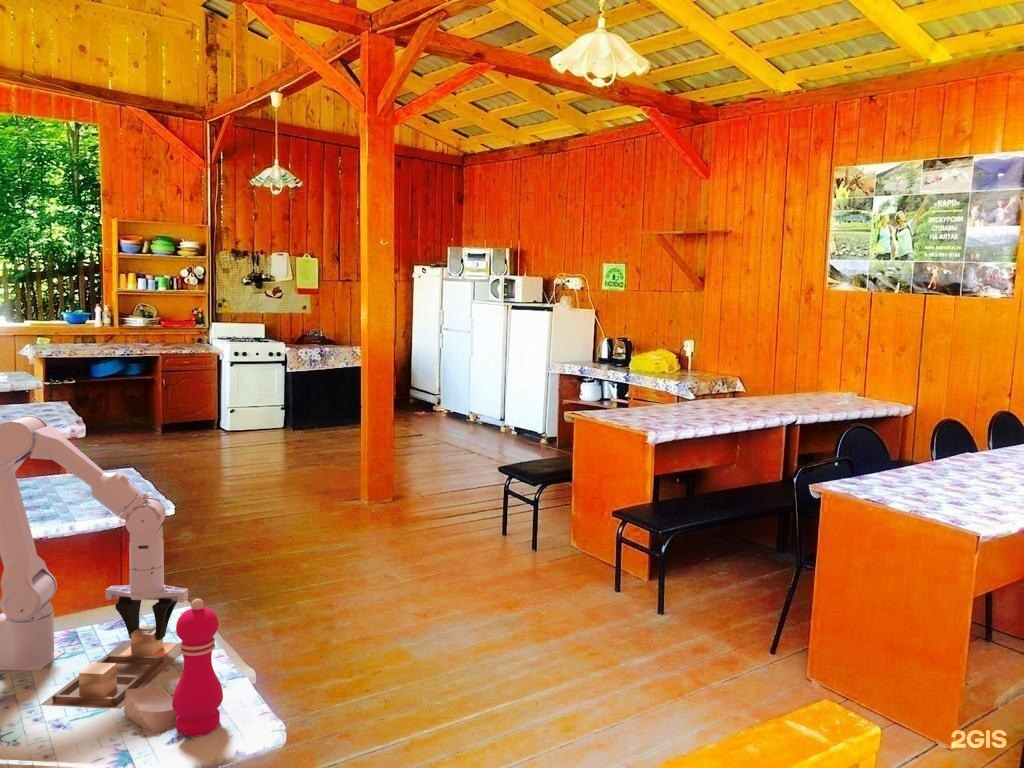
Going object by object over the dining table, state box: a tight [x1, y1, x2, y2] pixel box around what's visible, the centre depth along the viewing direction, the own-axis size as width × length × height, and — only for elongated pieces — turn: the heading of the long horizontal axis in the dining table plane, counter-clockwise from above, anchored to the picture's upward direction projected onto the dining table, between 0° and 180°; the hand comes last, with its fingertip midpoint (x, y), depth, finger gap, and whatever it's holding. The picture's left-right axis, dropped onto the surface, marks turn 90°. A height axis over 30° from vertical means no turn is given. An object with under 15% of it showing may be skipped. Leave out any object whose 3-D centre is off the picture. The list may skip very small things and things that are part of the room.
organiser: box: [40, 640, 182, 709], centre depth 135 cm, size 13×25×2 cm, turn 178°
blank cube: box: [78, 661, 117, 697], centre depth 127 cm, size 4×4×4 cm
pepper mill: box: [172, 598, 224, 737], centre depth 118 cm, size 7×7×20 cm
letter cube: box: [130, 625, 164, 656], centre depth 143 cm, size 4×4×4 cm
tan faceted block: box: [123, 686, 178, 732], centre depth 120 cm, size 10×6×6 cm, turn 40°
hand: (147, 637), depth 143 cm, fingers open, 4 cm apart
